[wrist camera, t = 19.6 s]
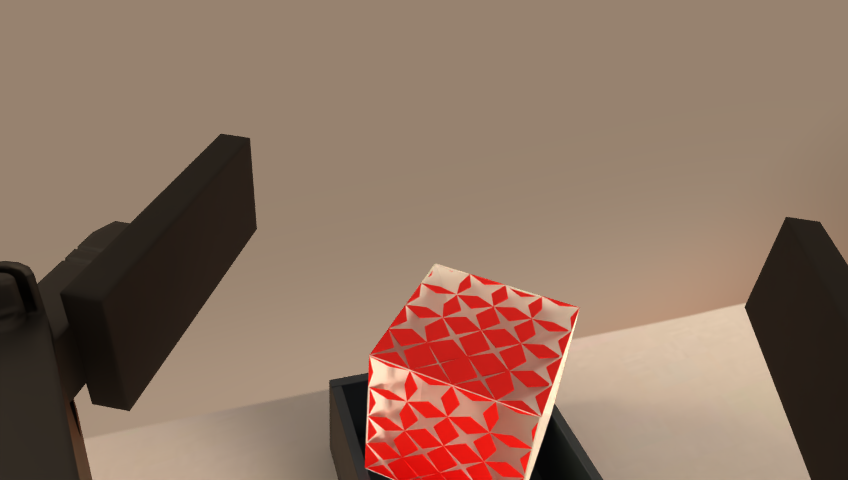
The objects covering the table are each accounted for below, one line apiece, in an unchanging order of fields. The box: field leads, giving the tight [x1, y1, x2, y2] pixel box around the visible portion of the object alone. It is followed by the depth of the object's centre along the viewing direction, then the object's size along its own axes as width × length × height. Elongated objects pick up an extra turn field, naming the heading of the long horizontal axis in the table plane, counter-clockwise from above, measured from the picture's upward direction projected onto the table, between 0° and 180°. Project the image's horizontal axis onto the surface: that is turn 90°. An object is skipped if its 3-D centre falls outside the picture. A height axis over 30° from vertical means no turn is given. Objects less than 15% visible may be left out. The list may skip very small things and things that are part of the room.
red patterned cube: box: [365, 263, 580, 480], centre depth 33 cm, size 8×8×8 cm
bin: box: [329, 373, 603, 480], centre depth 37 cm, size 12×12×6 cm
